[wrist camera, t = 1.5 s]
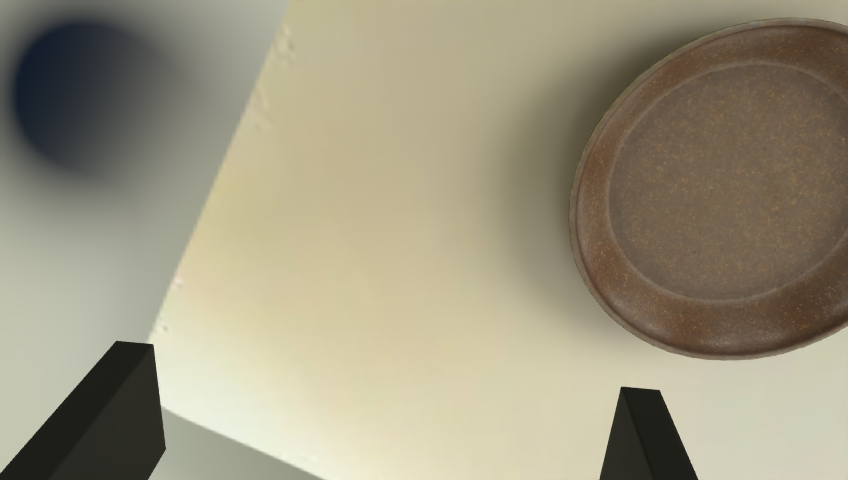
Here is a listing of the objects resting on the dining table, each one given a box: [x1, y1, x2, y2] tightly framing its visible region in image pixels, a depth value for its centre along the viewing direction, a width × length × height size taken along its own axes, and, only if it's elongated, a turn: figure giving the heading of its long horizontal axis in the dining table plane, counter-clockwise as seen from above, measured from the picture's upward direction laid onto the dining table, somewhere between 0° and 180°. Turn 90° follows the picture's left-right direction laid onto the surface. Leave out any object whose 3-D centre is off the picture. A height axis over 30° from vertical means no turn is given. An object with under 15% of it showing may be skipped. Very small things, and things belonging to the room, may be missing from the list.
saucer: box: [569, 18, 848, 360], centre depth 28 cm, size 15×15×3 cm
